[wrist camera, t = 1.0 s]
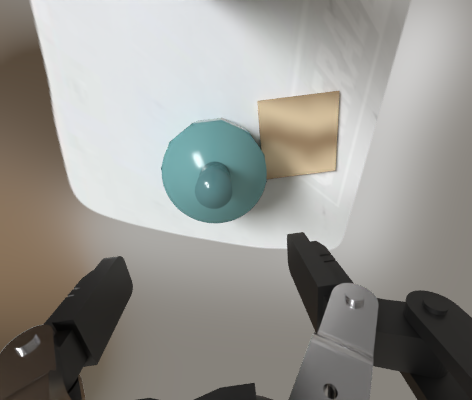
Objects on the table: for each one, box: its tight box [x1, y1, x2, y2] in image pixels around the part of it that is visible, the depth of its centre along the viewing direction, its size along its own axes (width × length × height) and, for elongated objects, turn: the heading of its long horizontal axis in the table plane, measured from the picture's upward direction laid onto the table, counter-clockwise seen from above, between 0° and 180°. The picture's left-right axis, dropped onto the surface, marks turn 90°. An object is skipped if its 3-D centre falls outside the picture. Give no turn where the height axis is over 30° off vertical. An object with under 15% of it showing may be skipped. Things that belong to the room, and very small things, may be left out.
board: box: [258, 91, 339, 179], centre depth 31 cm, size 11×11×1 cm
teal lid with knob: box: [161, 118, 267, 223], centre depth 26 cm, size 12×12×13 cm
